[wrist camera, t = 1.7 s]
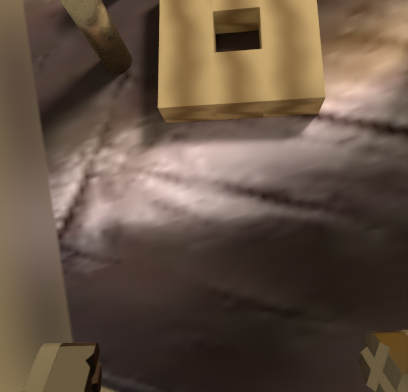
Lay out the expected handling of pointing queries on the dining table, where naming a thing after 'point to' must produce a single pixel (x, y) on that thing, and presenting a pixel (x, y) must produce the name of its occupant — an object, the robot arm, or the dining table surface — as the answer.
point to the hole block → (239, 60)
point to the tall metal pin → (100, 33)
